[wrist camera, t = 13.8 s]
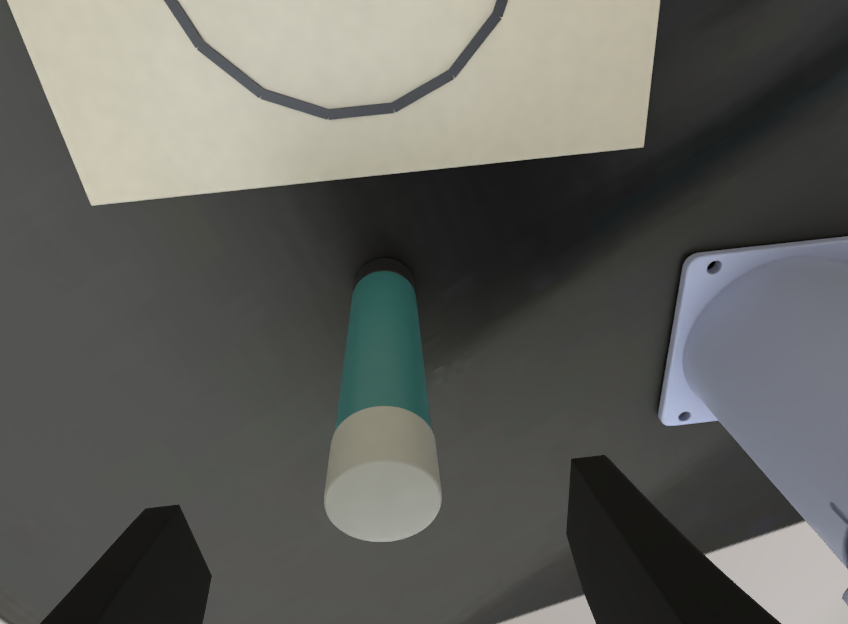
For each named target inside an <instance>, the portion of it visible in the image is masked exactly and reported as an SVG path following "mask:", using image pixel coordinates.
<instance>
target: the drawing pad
mask: <svg viewBox="0 0 848 624" xmlns="http://www.w3.org/2000/svg"><path fill="white" fill-rule="evenodd" d="M7 1H8V4H9V6H10V9H11V11H12V14H13V16H14V19H15V21H16V23H17V26H18V28H19V31H20V33H21V36H22V38H23V40H24V43H25V45H26V48H27V50H28V53H29V55H30V57H31V60H32V62H33V65H34V67H35V70H36V72H37V75H38V77H39V79H40V82H41V84H42V87H43V89H44V92H45V94H46V96H47V99H48V101H49V104H50V106H51V109H52V111H53V114H54V116H55V118H56V121H57V123H58V126H59V128H60V131H61V133H62V135H63V138H64V140H65V143H66V145H67V148H68V150H69V153H70V155H71V157H72V160H73V162H74V165H75V167H76V170H77V172H78V174H79V177H80V179H81V182H82V184H83V187H84V189H85V191H86V194H87V196H88V199H89V201H90V204H91V205H92V206H94V205H103V204H113V203H122V202H132V201H141V200H150V199H160V198H169V197H179V196H188V195H198V194H207V193H217V192H226V191H236V190H245V189H254V188H264V187H273V186H283V185H292V184H302V183H311V182H321V181H330V180H340V179H349V178H358V177H368V176H377V175H387V174H396V173H406V172H415V171H425V170H434V169H443V168H453V167H462V166H472V165H481V164H491V163H500V162H510V161H519V160H529V159H538V158H547V157H557V156H566V155H576V154H585V153H595V152H604V151H614V150H623V149H632V148H642V147H644V140H645V131H646V122H647V113H648V104H649V96H650V87H651V78H652V69H653V60H654V51H655V43H656V34H657V25H658V16H659V7H660V0H7Z"/></svg>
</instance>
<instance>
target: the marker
mask: <svg viewBox="0 0 848 624" xmlns="http://www.w3.org/2000/svg"><path fill="white" fill-rule="evenodd" d="M441 502H442V492H441V484H440V476H439V468H438V460H437V452H436V444H435V438H434V435H433V432H432V429H431V421H430V412H429V404H428V395H427V387H426V378H425V370H424V361H423V353H422V345H421V336H420V328H419V319H418V311H417V302H416V294H415V285H414V279H413V276H412V274H411V272H410V271H409V269H408V268H407V267H406V266H405V265H404V264H402V263H401V262H399V261H397V260H394V259H390V258H378V259H374V260H371V261H369V262H367V263H366V264H364V265H363V266H362V267H361V268H360V269H359V271H358V272H357V274H356V277H355V280H354V287H353V295H352V303H351V310H350V318H349V326H348V334H347V342H346V349H345V357H344V365H343V373H342V381H341V389H340V396H339V404H338V412H337V420H336V428H335V433H334V435H333V437H332V442H331V448H330V456H329V463H328V471H327V478H326V486H325V493H324V506H325V510H326V513H327V515H328V517H329V519H330V520H331V521H332V523H333V524H334V525H335V526H336V527H337V528H338V529H340V530H341V531H343V532H344V533H346V534H348V535H350V536H352V537H355V538H358V539H361V540H366V541H374V542H388V541H395V540H400V539H404V538H407V537H410V536H412V535H414V534H416V533H418V532H420V531H421V530H423V529H424V528H426V527H427V526H428V525H429V524H430V523H431V522H432V521H433V520H434V518H435V517H436V515H437V514H438V512H439V509H440V506H441Z"/></svg>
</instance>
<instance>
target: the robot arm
mask: <svg viewBox="0 0 848 624" xmlns="http://www.w3.org/2000/svg"><path fill="white" fill-rule="evenodd" d="M713 261H715V264H714V266H713V267H712V268H711V269H708V270H707V267H708V265H709V264H710V263H711V262H713ZM683 412H685V413H683ZM681 413H683V414H682V415H680V414H681ZM658 417H659V419H660V420H661V422H662V423H663V424H664V425H666V426H675V425H683V424H692V423H701V422H710V421H719V422H720V423H721V424H722V425H723V426H724V427H725V429H726V430H727V431H728V432H729V433H730V434H731V435H732V437H733V438H734V439H735V440H736V441H737V442H738V444H739V445H740V446H741V447H742V448H743V449H744V450H745V452H746V453H747V454H748V455H749V456H750V457H751V458H752V460H753V461H754V462H755V463H756V464H757V465H758V467H759V468H760V469H761V470H762V471H763V472H764V473H765V475H766V476H767V477H768V478H769V479H770V480H771V481H772V483H773V484H774V485H775V486H776V487H777V488H778V489H779V491H780V492H781V493H782V494H783V495H784V496H785V498H786V499H787V500H788V501H789V502H790V503H791V504H792V506H793V507H794V508H795V509H796V510H797V511H798V512H799V514H800V515H801V516H802V517H803V518H804V519H805V521H806V522H807V523H808V524H809V525H810V526H811V527H812V528H813V530H814V531H815V532H816V533H817V534H818V535H819V537H820V538H821V539H822V540H823V541H824V542H825V543H826V544H827V546H828V547H829V548H830V549H831V550H832V551H833V553H834V554H835V555H836V556H837V557H838V558H839V559H840V561H841V562H842V563H843V564H844V565H845V566H846V568H847V569H848V236H845V237H836V238H826V239H817V240H808V241H799V242H790V243H781V244H772V245H762V246H753V247H744V248H735V249H726V250H717V251H708V252H699V253H695V254H692V255H691V256H689V257H688V258H687V259H686V260H685V261H684V264H683V267H682V273H681V279H680V285H679V291H678V297H677V303H676V309H675V315H674V321H673V327H672V333H671V339H670V345H669V351H668V357H667V363H666V369H665V375H664V381H663V387H662V393H661V399H660V405H659V411H658ZM566 534H567V537H568V541H569V544H570V548H571V551H572V555H573V558H574V562H575V565H576V569H577V572H578V575H579V579H580V582H581V585H582V589H583V592H584V594H585V597H586V599H587V601H588V604H589V607H590V609H591V611H592V614H593V617H594V619H595V622H596V624H781V623H779V621H778V620H776V619H775V618H774V617H773V616H772V615H771V614H769V613H768V612H767V611H766V610H765V609H764V608H762V607H761V606H760V605H759V604H758V603H757V602H756V601H754V600H753V599H752V598H751V597H750V596H749V595H748V594H746V593H745V592H744V591H743V590H742V589H741V588H740V587H738V586H737V585H736V584H735V583H734V582H733V581H732V580H730V578H728V577H727V576H726V575H725V574H724V573H723V572H722V571H721V570H720V569H719V568H717V567H716V566H715V565H714V564H713V563H712V562H711V561H710V560H709V559H708V558H707V557H706V556H705V555H704V554H703V553H702V552H701V551H700V550H699V549H697V548H696V547H695V546H694V545H693V544H692V543H691V542H690V541H689V540H688V539H687V538H686V537H685V536H684V535H683V534H682V533H681V532H680V531H679V530H678V529H677V528H676V527H675V526H674V525H673V524H672V523H671V522H669V521H668V520H667V519H666V518H665V517H664V516H663V515H662V513H661V512H660V511H659V510H658V509H657V508H656V507H655V506H654V505H653V504H652V503H651V502H650V501H649V500H648V499H647V498H646V497H645V496H644V495H643V494H642V493H641V492H640V491H639V490H638V489H637V488H636V487H635V486H634V485H633V484H632V483H631V482H630V480H629V479H628V478H627V477H626V476H625V475H624V474H623V473H622V472H621V471H620V470H619V469H618V468H617V467H616V466H615V465H614V463H613V462H612V461H611V460H610V459H609V458H607V457H606V456H605V455H601V456H592V457H583V458H575V459H571V473H570V488H569V503H568V518H567V533H566ZM211 577H212V576H211V573H210V571H209V569H208V567H207V565H206V562H205V560H204V558H203V556H202V554H201V552H200V549H199V547H198V545H197V543H196V541H195V538H194V536H193V534H192V532H191V530H190V528H189V525H188V523H187V521H186V519H185V517H184V514H183V512H182V510H181V508H180V506H179V505H172V506H164V507H155V508H147V509H145V510H144V511H143V512H142V513H141V514H140V515H139V516H138V517H137V518H136V519H135V520H134V521H133V522H132V524H131V525H130V526H129V527H128V528H127V529H126V530H125V531H124V532H123V533H122V535H121V536H120V537H119V538H118V539H117V540H116V541H115V542H114V543H113V545H112V546H111V547H110V548H109V549H108V550H107V551H106V552H105V553H104V555H103V556H102V557H101V558H100V559H99V560H98V561H97V562H96V563H95V565H94V566H93V567H92V568H91V569H90V570H89V571H88V572H87V573H86V574H85V576H84V577H83V578H82V579H81V580H80V581H79V582H78V583H77V584H76V585H75V587H74V588H73V589H72V590H71V591H70V592H69V593H68V594H67V595H66V596H65V597H64V598H63V600H62V601H61V602H60V603H59V604H58V605H57V606H56V607H55V608H54V609H53V610H52V611H51V613H50V614H49V615H48V616H47V617H46V618H45V619H44V620H43V621H42V622H41V623H40V624H202V623H203V618H204V613H205V609H206V603H207V598H208V593H209V587H210V582H211ZM842 599H843V600H844V601H845V603H846V604H847V605H848V589H847V590H846V591H845V593H844V594H843V596H842Z"/></svg>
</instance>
